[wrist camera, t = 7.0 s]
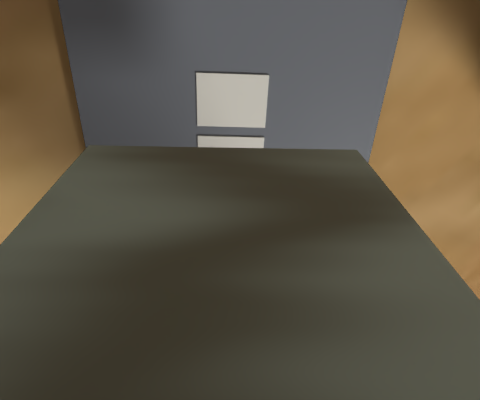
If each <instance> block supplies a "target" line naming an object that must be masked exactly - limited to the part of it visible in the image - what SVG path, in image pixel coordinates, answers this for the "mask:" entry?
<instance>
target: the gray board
mask: <svg viewBox="0 0 480 400" xmlns="http://www.w3.org/2000/svg"><path fill="white" fill-rule="evenodd" d="M406 3H407V0H58V4H59V9H60V14H61V19H62V25H63V30H64V35H65V41H66V46H67V51H68V56H69V62H70V67H71V72H72V78H73V83H74V88H75V93H76V99H77V104H78V109H79V115H80V120H81V125H82V130H83V136H84V141H85V146H86V148H87V147H88V146H89V145H103V146H163V147H222V148H281V149H341V150H358V152H359V153H360V154H361V155H362V156H363V158H364V159H365V160H366V161H367V163H368V162H369V157H370V153H371V149H372V145H373V141H374V137H375V132H376V128H377V124H378V120H379V116H380V112H381V107H382V103H383V99H384V95H385V91H386V87H387V82H388V78H389V74H390V70H391V66H392V62H393V57H394V53H395V49H396V45H397V41H398V37H399V32H400V28H401V24H402V20H403V16H404V11H405V7H406Z"/></svg>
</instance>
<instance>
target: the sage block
mask: <svg viewBox="0 0 480 400" xmlns="http://www.w3.org/2000/svg"><path fill="white" fill-rule="evenodd" d="M0 400H480V300H479V299H478V298H477V296H476V295H475V294H474V293H473V291H472V290H471V289H470V288H469V286H468V285H467V284H466V283H465V282H464V280H463V279H462V278H461V277H460V275H459V274H458V273H457V272H456V271H455V269H454V268H453V267H452V266H451V264H450V263H449V262H448V261H447V259H446V258H445V257H444V256H443V255H442V253H441V252H440V251H439V250H438V248H437V247H436V246H435V245H434V244H433V242H432V241H431V240H430V239H429V237H428V236H427V235H426V234H425V233H424V231H423V230H422V229H421V228H420V226H419V225H418V224H417V223H416V221H415V220H414V219H413V218H412V217H411V215H410V214H409V213H408V212H407V210H406V209H405V208H404V207H403V206H402V204H401V203H400V202H399V201H398V199H397V198H396V197H395V196H394V194H393V193H392V192H391V191H390V190H389V188H388V187H387V186H386V185H385V183H384V182H383V181H382V180H381V179H380V177H379V176H378V175H377V174H376V172H375V171H374V170H373V169H372V168H371V166H370V165H369V164H368V163H367V161H366V160H365V159H364V158H363V156H362V155H361V154H360V153H359V152H358V150H341V149H281V148H222V147H163V146H103V145H89V146H88V147H87V148H86V149H85V150H84V151H83V152H82V153H81V155H80V156H79V157H78V158H77V159H76V160H75V161H74V163H73V164H72V165H71V166H70V167H69V168H68V169H67V170H66V172H65V173H64V174H63V175H62V176H61V177H60V178H59V179H58V181H57V182H56V183H55V184H54V185H53V186H52V187H51V188H50V190H49V191H48V192H47V193H46V194H45V195H44V196H43V197H42V199H41V200H40V201H39V202H38V203H37V204H36V205H35V206H34V208H33V209H32V210H31V211H30V212H29V213H28V214H27V215H26V217H25V218H24V219H23V220H22V221H21V222H20V223H19V224H18V226H17V227H16V228H15V229H14V230H13V231H12V232H11V233H10V235H9V236H8V237H7V238H6V239H5V240H4V241H3V242H2V244H1V245H0Z"/></svg>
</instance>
